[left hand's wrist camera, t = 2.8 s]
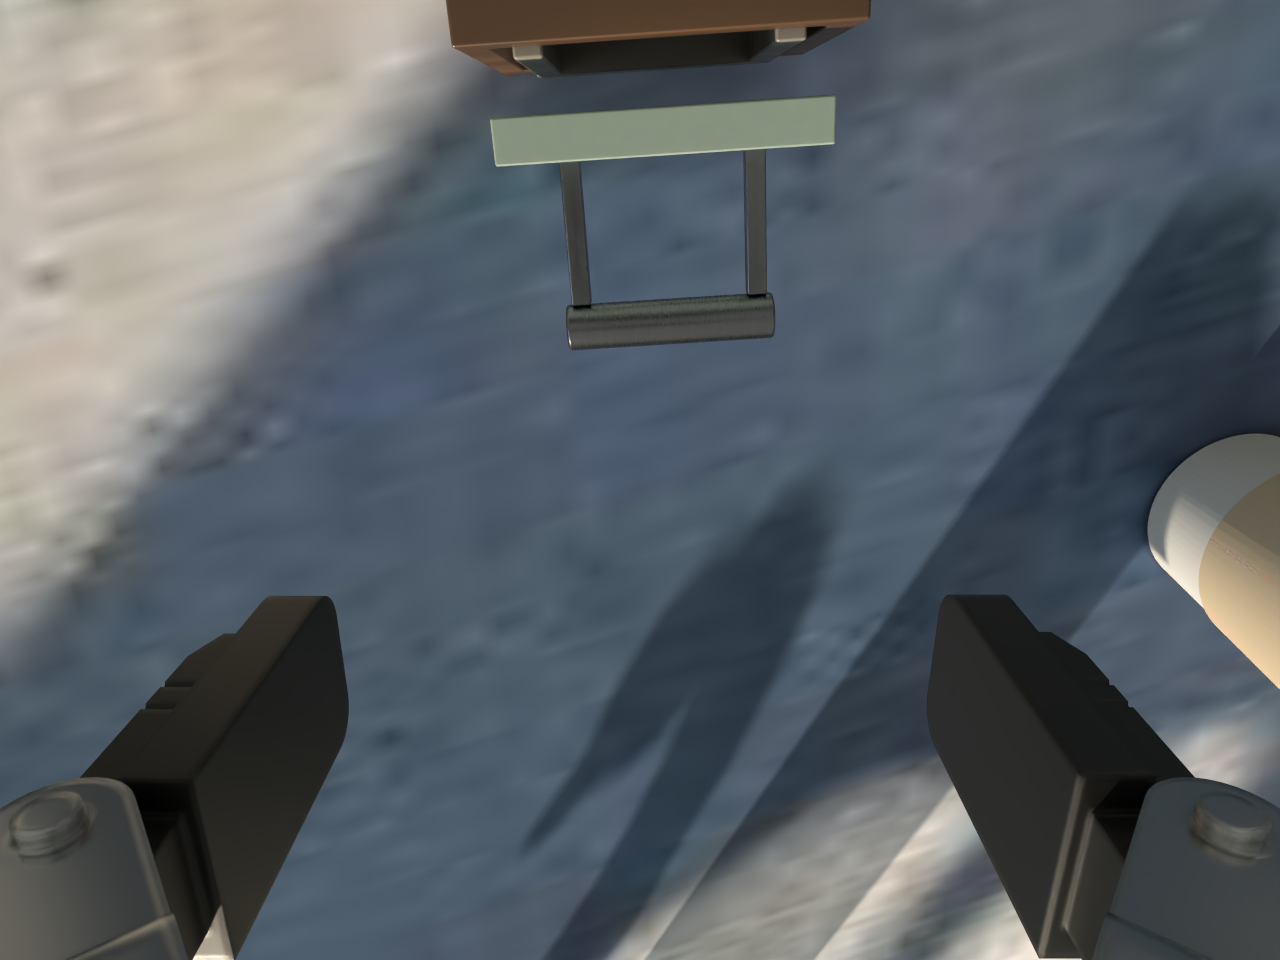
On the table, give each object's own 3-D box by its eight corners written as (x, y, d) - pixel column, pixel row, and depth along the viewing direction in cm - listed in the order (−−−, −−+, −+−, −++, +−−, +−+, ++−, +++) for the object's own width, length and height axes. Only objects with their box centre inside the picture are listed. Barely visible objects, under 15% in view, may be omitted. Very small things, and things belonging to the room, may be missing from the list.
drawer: (789, 310, 32) (832, 355, 25) (543, 325, 32) (519, 374, 25) (790, -380, 25) (849, -577, 18) (473, -356, 25) (412, -543, 18)
